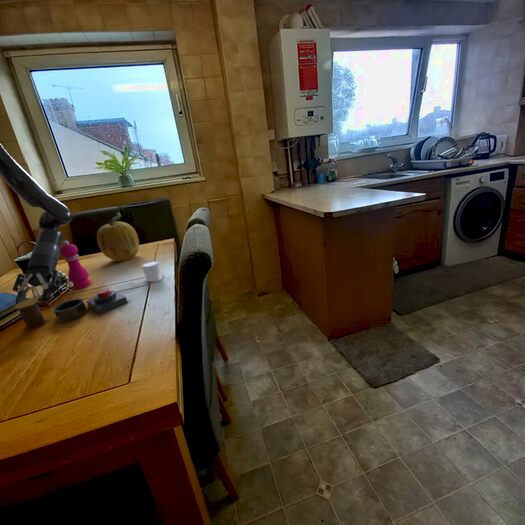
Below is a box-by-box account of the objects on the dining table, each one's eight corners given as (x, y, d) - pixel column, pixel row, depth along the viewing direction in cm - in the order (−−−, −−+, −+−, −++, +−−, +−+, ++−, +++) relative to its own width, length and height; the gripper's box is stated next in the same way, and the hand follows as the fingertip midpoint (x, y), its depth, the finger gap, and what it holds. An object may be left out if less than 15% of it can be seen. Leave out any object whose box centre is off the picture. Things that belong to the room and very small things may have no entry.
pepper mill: (90, 280, 123) (74, 237, 116) (93, 284, 118) (76, 239, 111) (71, 286, 119) (53, 241, 112) (73, 291, 113) (55, 244, 107)
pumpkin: (140, 260, 142) (126, 212, 134) (100, 268, 138) (83, 219, 130) (145, 250, 159) (132, 207, 151) (109, 257, 156) (94, 213, 147)
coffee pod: (27, 331, 86) (16, 309, 83) (23, 326, 90) (12, 304, 87) (49, 322, 90) (39, 300, 87) (44, 317, 94) (35, 296, 91)
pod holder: (62, 325, 87) (57, 314, 86) (54, 318, 93) (49, 307, 91) (90, 312, 93) (86, 302, 92) (81, 306, 98) (77, 296, 97)
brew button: (101, 298, 94) (99, 294, 93) (97, 296, 96) (95, 292, 95) (112, 294, 96) (110, 289, 96) (107, 292, 99) (106, 287, 98)
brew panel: (101, 314, 91) (97, 304, 89) (88, 306, 98) (84, 296, 96) (127, 302, 97) (124, 292, 96) (114, 296, 104) (110, 286, 103)
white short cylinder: (155, 275, 120) (151, 260, 117) (166, 277, 116) (162, 261, 114) (142, 281, 114) (137, 266, 112) (153, 283, 111) (148, 267, 108)
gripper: (15, 255, 93) (-1, 301, 86) (56, 250, 92) (43, 297, 85) (34, 264, 100) (21, 308, 93) (72, 259, 99) (61, 304, 92)
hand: (31, 303), depth 89 cm, fingers open, 8 cm apart
